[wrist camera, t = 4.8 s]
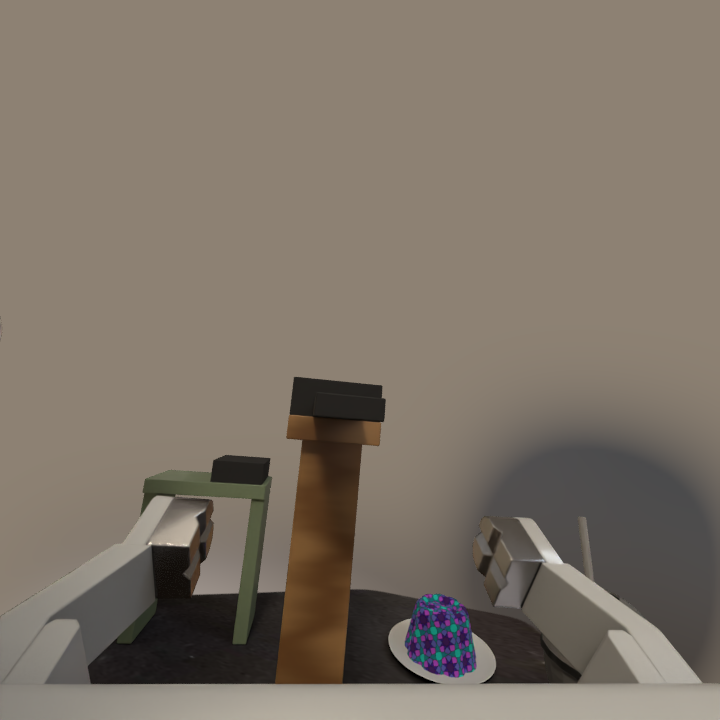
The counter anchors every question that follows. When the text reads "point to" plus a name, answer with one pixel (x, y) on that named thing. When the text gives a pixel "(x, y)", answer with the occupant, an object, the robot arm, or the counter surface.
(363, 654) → the counter surface
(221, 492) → the low bench
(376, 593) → the counter surface
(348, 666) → the counter surface
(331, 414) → the black pad
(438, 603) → the pudding
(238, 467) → the black block
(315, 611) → the tall stand
